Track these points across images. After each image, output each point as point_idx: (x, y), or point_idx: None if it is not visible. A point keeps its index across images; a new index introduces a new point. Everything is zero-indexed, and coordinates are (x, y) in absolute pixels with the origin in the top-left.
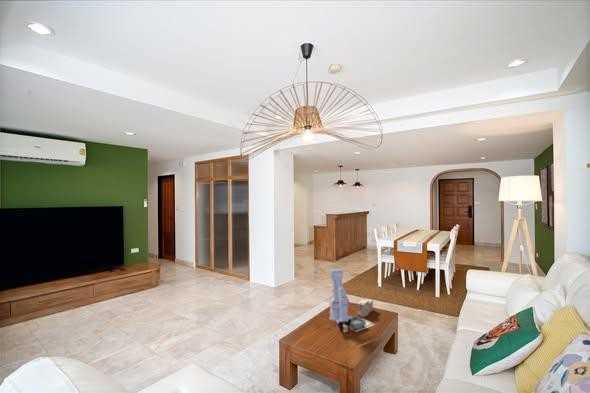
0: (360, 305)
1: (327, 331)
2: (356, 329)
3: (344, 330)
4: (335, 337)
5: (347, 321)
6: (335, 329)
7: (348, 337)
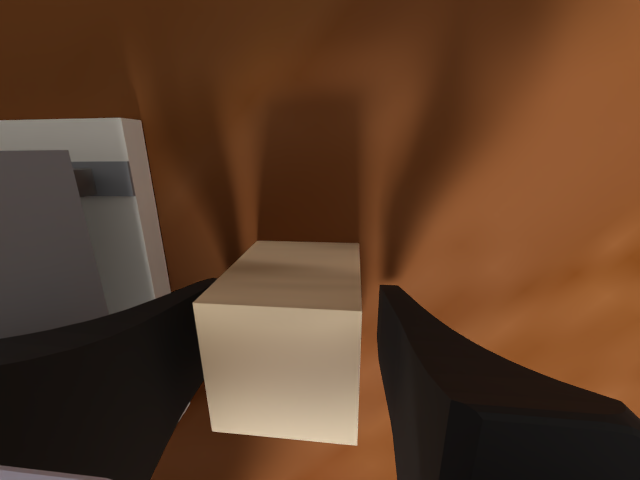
0: None
1: None
2: None
3: (343, 266)
4: (627, 233)
5: (63, 456)
6: (376, 424)
7: (395, 63)
